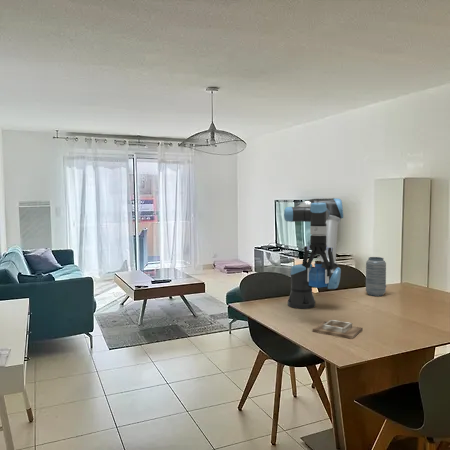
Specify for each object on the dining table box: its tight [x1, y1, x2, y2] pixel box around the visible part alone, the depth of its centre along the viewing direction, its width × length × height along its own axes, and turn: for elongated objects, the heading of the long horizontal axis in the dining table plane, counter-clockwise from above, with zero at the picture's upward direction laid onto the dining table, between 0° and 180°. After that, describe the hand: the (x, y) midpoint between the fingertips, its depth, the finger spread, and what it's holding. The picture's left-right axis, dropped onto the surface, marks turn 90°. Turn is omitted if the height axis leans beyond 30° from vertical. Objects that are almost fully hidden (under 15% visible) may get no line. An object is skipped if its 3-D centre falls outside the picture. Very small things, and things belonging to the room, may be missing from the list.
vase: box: [365, 256, 387, 297], centre depth 256 cm, size 12×12×23 cm
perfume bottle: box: [309, 260, 327, 289], centre depth 199 cm, size 6×6×12 cm
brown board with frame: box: [311, 319, 363, 340], centre depth 187 cm, size 18×14×3 cm
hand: (318, 282), depth 199 cm, fingers closed on perfume bottle, 8 cm apart
